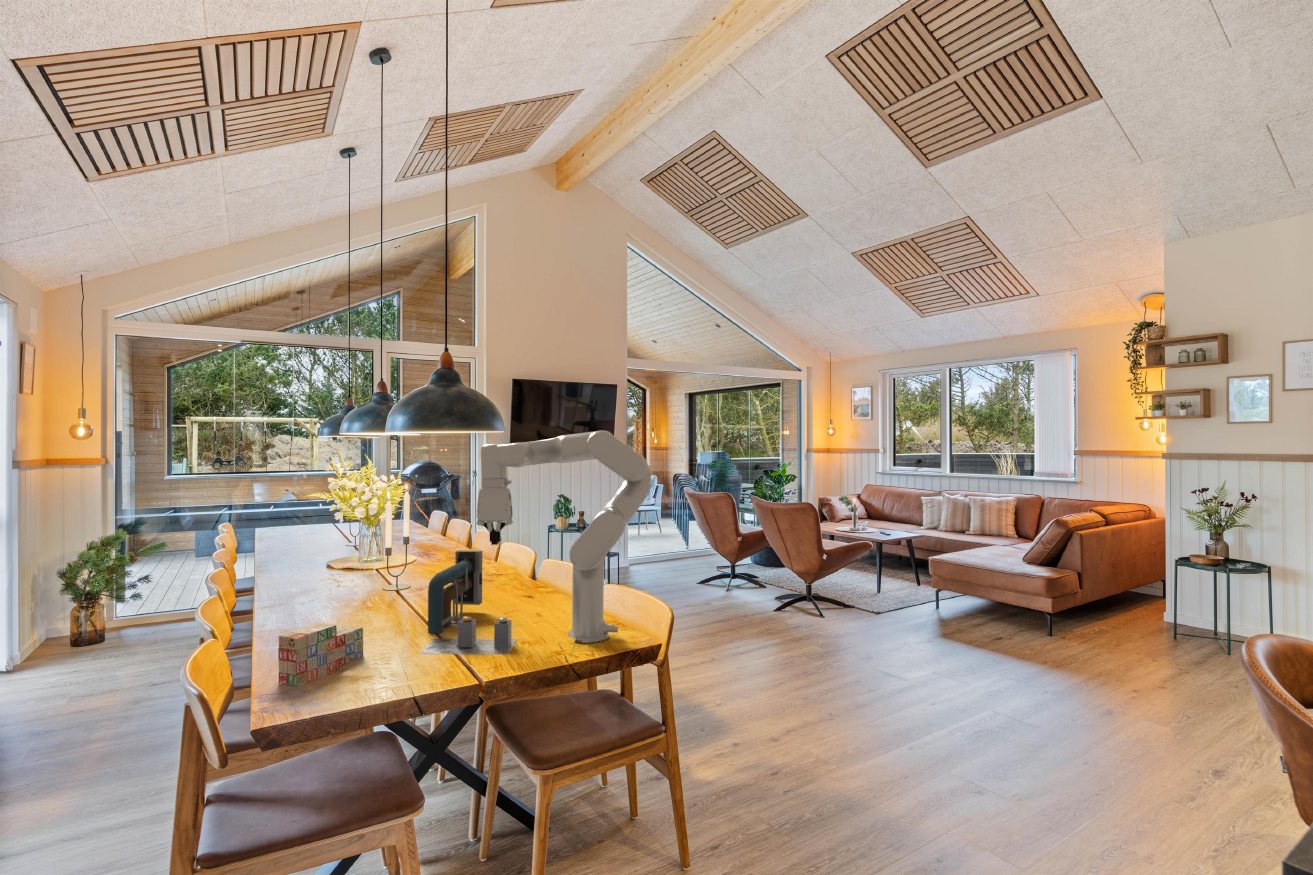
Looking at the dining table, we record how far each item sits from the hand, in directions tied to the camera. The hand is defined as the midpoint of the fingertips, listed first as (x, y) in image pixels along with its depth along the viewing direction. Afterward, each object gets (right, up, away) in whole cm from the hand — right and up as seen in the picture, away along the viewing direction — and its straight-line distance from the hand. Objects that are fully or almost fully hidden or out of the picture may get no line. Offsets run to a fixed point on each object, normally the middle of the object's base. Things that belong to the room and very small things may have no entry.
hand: (495, 544), depth 208 cm
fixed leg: (+5, -27, -12) cm, 30 cm away
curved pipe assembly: (-18, -29, +14) cm, 37 cm away
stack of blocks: (-38, -29, -30) cm, 56 cm away
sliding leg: (-5, -27, -12) cm, 30 cm away
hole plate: (-4, -29, -12) cm, 31 cm away
